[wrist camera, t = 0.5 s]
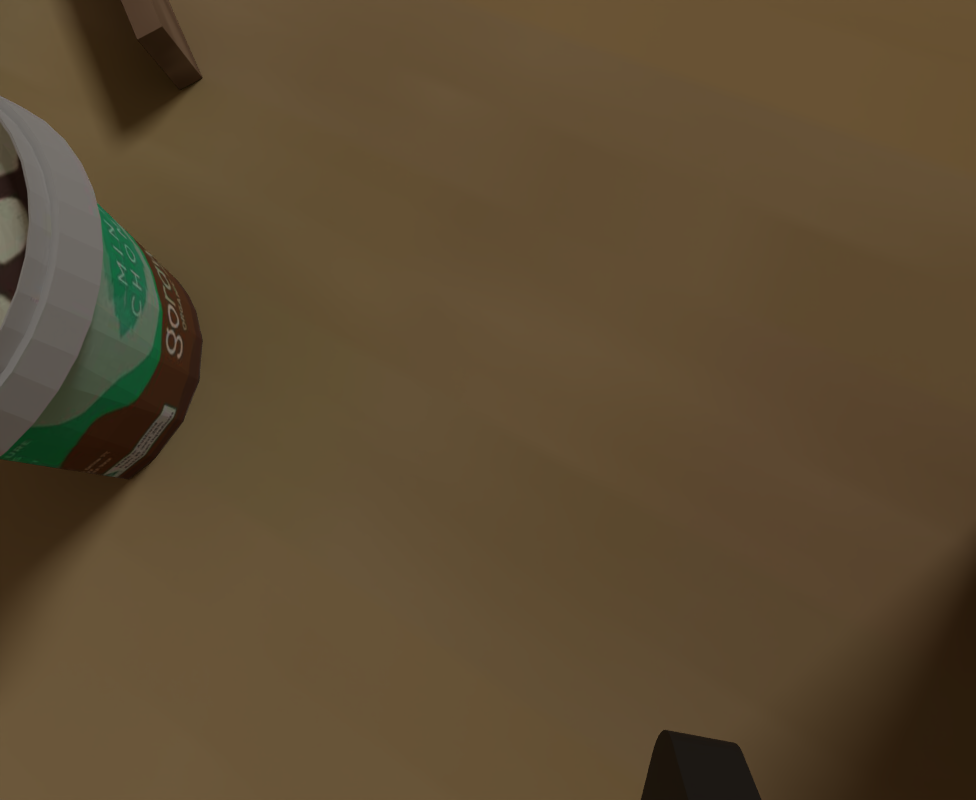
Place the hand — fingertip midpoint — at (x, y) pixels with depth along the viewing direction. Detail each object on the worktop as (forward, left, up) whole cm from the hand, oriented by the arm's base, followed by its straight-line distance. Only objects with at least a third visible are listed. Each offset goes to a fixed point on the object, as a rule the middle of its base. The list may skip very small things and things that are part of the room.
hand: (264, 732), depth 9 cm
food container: (+7, -16, -18) cm, 25 cm away
